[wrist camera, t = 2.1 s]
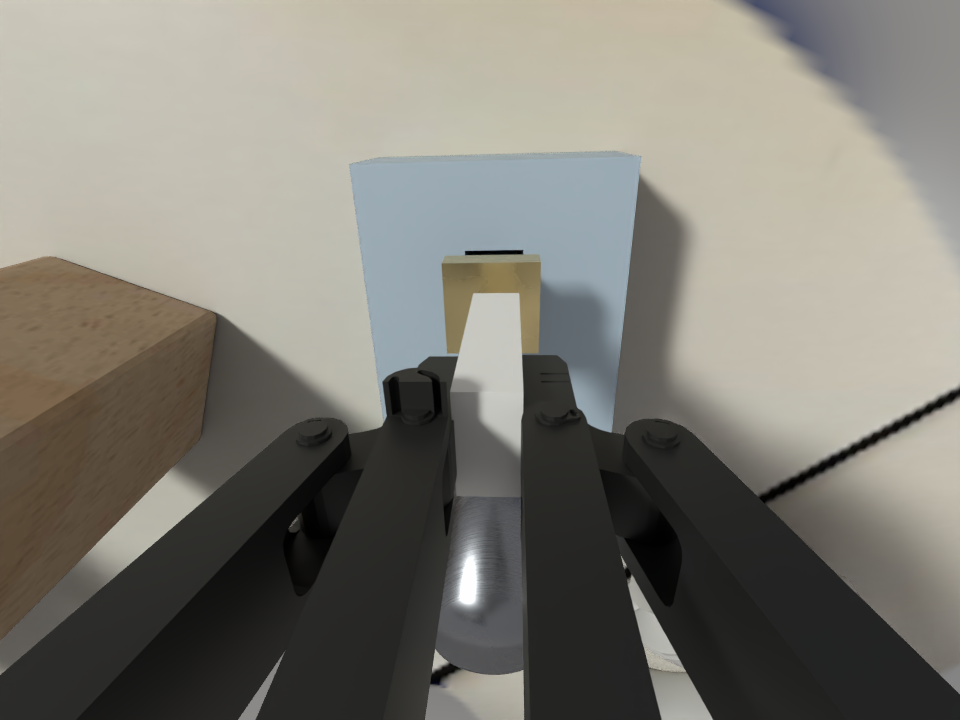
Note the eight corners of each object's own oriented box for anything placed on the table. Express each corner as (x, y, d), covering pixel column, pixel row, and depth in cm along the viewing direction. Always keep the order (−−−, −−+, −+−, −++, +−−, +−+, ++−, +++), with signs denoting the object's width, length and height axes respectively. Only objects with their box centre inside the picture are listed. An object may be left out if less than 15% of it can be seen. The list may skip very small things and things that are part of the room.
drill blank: (467, 422, 31) (434, 672, 17) (465, 367, 30) (425, 593, 15) (529, 422, 31) (549, 676, 17) (530, 367, 29) (553, 596, 15)
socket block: (409, 447, 32) (393, 499, 28) (378, 157, 25) (349, 164, 20) (590, 449, 32) (604, 502, 27) (616, 151, 24) (641, 156, 19)
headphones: (624, 485, 32) (547, 634, 43) (650, 598, 26) (551, 739, 37) (886, 535, 33) (744, 669, 44) (974, 657, 26) (781, 778, 38)
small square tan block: (459, 305, 24) (447, 353, 19) (456, 233, 23) (441, 263, 18) (531, 305, 24) (538, 353, 19) (533, 231, 22) (540, 262, 17)
